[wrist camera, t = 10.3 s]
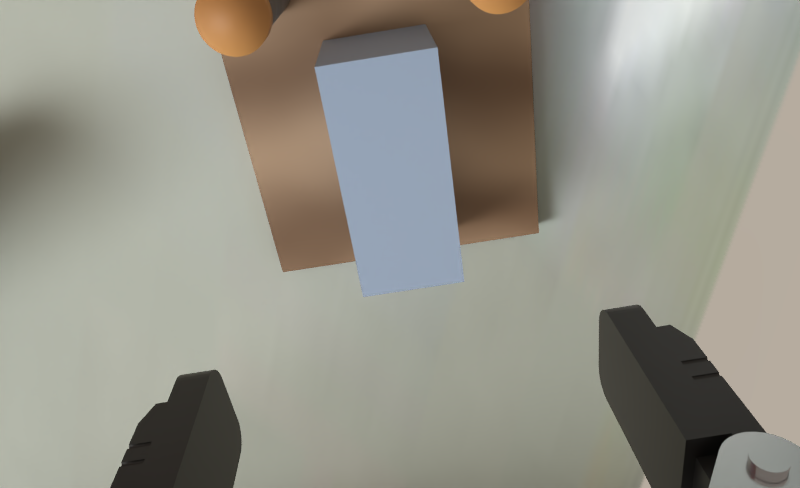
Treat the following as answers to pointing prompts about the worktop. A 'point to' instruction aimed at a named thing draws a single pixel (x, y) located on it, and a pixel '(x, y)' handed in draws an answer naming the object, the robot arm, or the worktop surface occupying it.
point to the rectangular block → (392, 157)
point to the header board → (306, 125)
